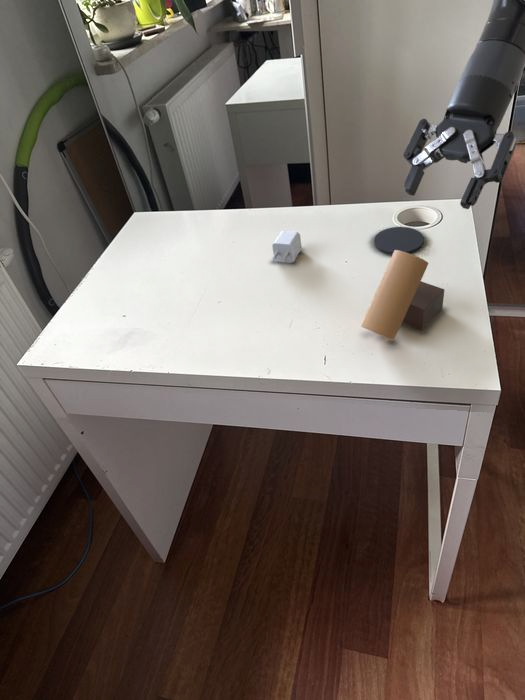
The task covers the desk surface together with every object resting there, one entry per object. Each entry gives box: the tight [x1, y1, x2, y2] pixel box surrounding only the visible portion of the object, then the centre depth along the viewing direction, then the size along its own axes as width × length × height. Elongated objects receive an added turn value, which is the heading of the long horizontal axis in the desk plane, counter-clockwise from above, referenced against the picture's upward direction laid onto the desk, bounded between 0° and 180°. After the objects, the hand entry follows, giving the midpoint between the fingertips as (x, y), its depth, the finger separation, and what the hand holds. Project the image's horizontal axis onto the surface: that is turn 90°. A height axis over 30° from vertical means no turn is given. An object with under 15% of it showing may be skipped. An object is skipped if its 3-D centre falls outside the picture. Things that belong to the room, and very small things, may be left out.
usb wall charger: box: [271, 230, 302, 264], centre depth 97 cm, size 4×7×4 cm, turn 158°
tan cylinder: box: [360, 250, 429, 341], centre depth 76 cm, size 12×5×12 cm, turn 137°
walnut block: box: [402, 280, 445, 331], centre depth 81 cm, size 6×8×4 cm
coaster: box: [373, 226, 425, 256], centre depth 97 cm, size 9×9×1 cm
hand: (435, 200), depth 74 cm, fingers open, 8 cm apart
